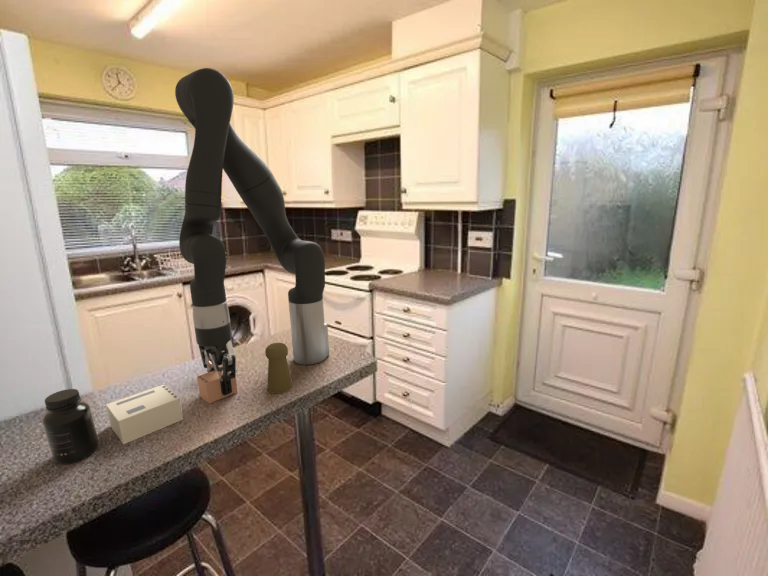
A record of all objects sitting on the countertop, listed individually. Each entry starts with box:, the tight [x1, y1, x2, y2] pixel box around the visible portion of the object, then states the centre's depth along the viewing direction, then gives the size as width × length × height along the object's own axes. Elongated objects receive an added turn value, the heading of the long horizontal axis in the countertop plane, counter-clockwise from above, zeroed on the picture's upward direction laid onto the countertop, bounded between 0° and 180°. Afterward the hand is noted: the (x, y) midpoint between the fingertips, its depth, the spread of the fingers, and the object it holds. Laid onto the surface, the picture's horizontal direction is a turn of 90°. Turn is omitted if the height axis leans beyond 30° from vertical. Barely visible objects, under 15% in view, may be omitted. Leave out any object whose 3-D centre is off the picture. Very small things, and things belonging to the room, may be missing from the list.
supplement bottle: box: [42, 388, 100, 465], centre depth 72 cm, size 7×7×12 cm
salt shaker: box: [219, 339, 239, 371], centre depth 104 cm, size 5×5×11 cm
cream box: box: [105, 384, 184, 445], centre depth 82 cm, size 11×9×5 cm
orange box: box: [196, 370, 238, 404], centre depth 92 cm, size 7×5×5 cm
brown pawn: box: [264, 342, 294, 394], centre depth 95 cm, size 6×6×11 cm
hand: (221, 389), depth 93 cm, fingers closed on orange box, 5 cm apart
